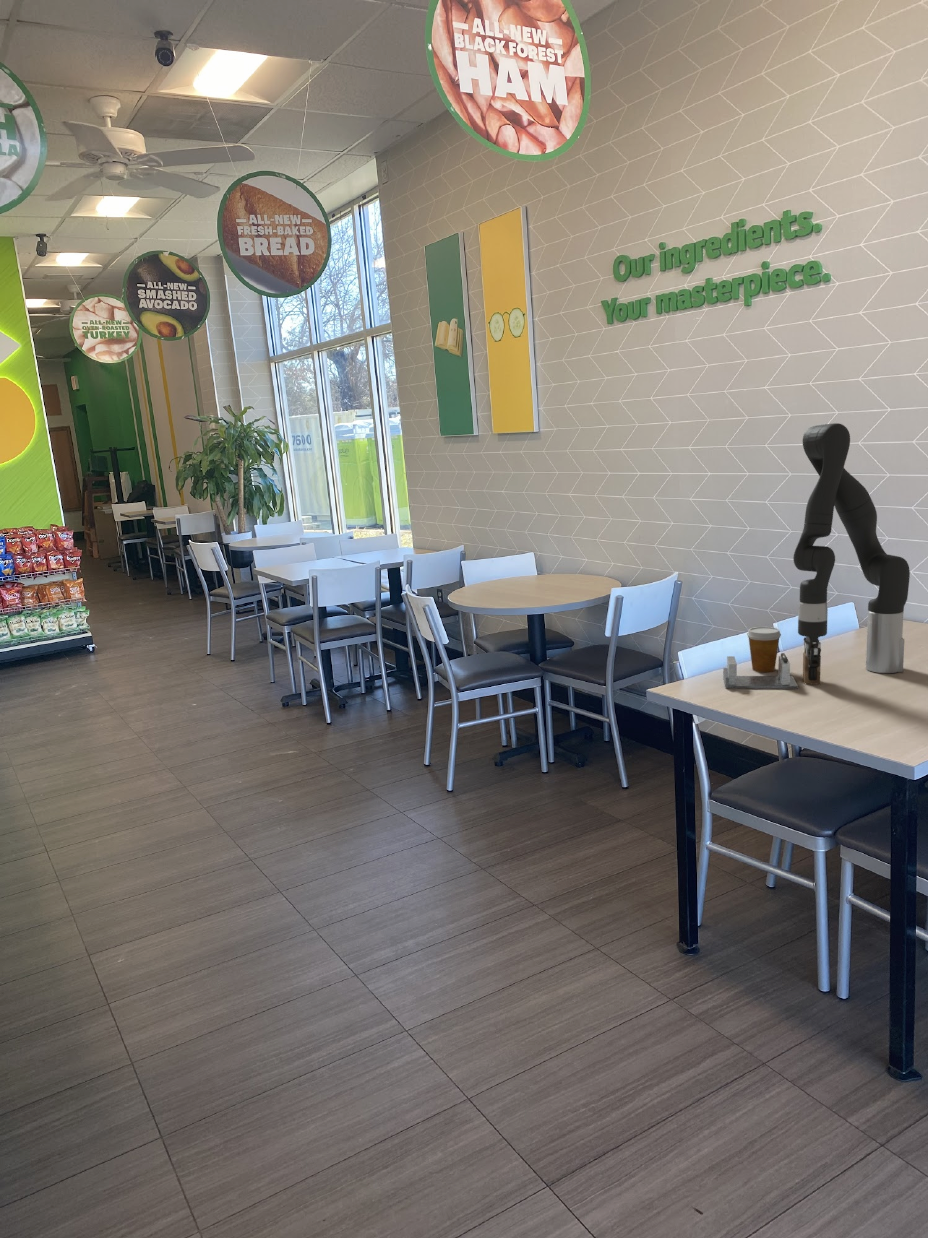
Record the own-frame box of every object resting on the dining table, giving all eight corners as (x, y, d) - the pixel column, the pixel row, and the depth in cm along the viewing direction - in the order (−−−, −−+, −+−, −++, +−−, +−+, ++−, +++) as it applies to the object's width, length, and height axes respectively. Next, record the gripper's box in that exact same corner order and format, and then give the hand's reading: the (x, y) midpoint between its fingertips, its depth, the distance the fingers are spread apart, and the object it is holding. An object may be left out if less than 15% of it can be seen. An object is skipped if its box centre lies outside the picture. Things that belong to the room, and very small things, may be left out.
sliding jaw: (785, 676, 255) (786, 651, 254) (789, 685, 247) (790, 659, 246) (778, 676, 256) (778, 651, 254) (782, 684, 248) (782, 659, 246)
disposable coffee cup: (776, 664, 271) (776, 625, 268) (784, 673, 262) (784, 633, 259) (743, 665, 272) (743, 626, 269) (750, 674, 263) (750, 634, 260)
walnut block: (817, 680, 253) (818, 652, 252) (820, 684, 250) (820, 656, 248) (802, 679, 254) (803, 652, 253) (804, 683, 250) (805, 656, 249)
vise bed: (792, 678, 256) (793, 655, 254) (797, 689, 246) (798, 665, 245) (723, 678, 260) (723, 655, 258) (725, 688, 250) (725, 665, 249)
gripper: (831, 623, 240) (830, 685, 244) (822, 612, 254) (821, 671, 258) (802, 623, 242) (800, 685, 246) (794, 612, 256) (793, 670, 259)
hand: (811, 677), depth 252 cm, fingers closed on walnut block, 4 cm apart
